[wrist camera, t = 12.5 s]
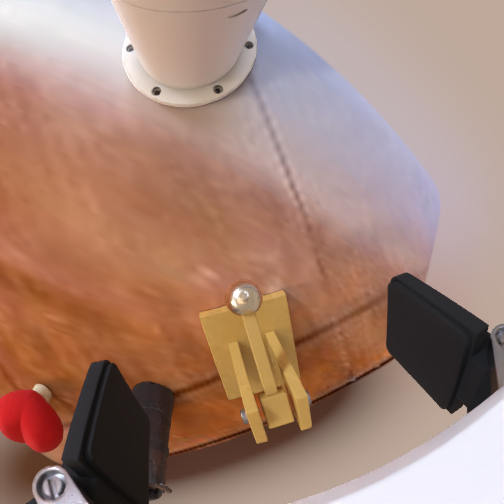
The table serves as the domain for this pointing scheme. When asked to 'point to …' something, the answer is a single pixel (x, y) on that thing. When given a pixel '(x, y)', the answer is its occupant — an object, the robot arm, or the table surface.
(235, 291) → the switch lever
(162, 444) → the butter churn
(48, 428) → the red rounded lump
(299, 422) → the bracket
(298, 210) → the table surface
